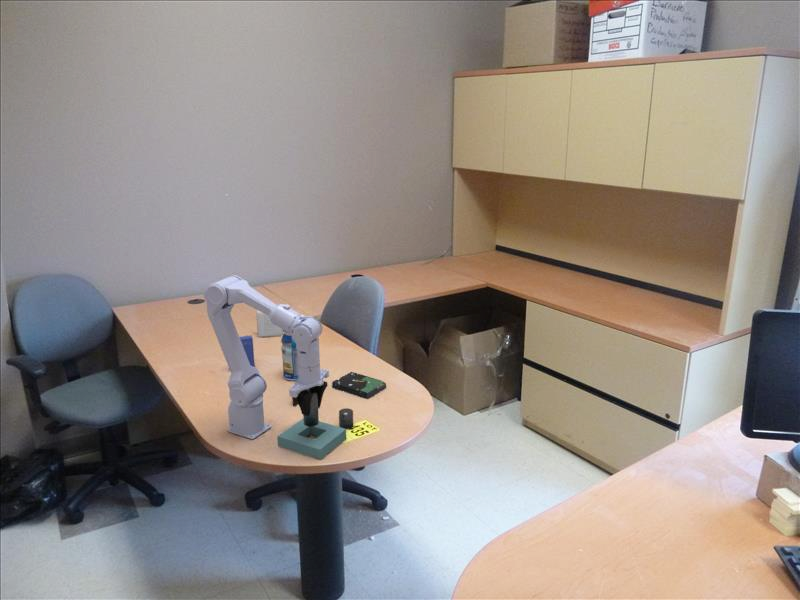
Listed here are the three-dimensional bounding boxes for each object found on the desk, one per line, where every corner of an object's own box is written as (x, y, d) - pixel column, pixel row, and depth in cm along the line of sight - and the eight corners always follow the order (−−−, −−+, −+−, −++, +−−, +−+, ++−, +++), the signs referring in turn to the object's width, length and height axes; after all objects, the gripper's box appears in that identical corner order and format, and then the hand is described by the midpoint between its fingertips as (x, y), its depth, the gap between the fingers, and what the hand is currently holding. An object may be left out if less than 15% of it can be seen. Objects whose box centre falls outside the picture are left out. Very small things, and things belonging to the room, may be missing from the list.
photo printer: (283, 332, 242) (281, 304, 238) (283, 336, 238) (281, 307, 234) (257, 334, 240) (255, 305, 236) (257, 338, 236) (255, 308, 232)
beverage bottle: (305, 381, 196) (303, 325, 190) (280, 381, 196) (277, 325, 191) (310, 371, 204) (307, 317, 198) (285, 371, 205) (282, 316, 199)
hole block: (278, 446, 158) (277, 436, 157) (305, 426, 168) (304, 417, 167) (320, 459, 151) (320, 449, 150) (346, 438, 161) (346, 428, 160)
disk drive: (331, 389, 192) (368, 400, 184) (331, 382, 191) (367, 392, 183) (351, 378, 200) (386, 388, 192) (351, 371, 199) (386, 380, 191)
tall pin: (300, 423, 157) (298, 393, 155) (311, 417, 160) (309, 387, 158) (311, 428, 155) (310, 397, 152) (321, 422, 158) (320, 391, 156)
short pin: (336, 427, 167) (336, 413, 166) (344, 421, 171) (343, 407, 169) (348, 430, 166) (348, 416, 164) (355, 424, 169) (355, 410, 168)
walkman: (253, 365, 209) (251, 334, 205) (254, 368, 207) (252, 336, 203) (230, 369, 206) (227, 337, 202) (232, 372, 204) (229, 340, 200)
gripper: (304, 377, 145) (306, 426, 149) (337, 357, 157) (338, 403, 161) (281, 371, 148) (284, 419, 152) (315, 352, 160) (317, 397, 164)
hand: (311, 411), depth 157 cm, fingers closed on tall pin, 4 cm apart
